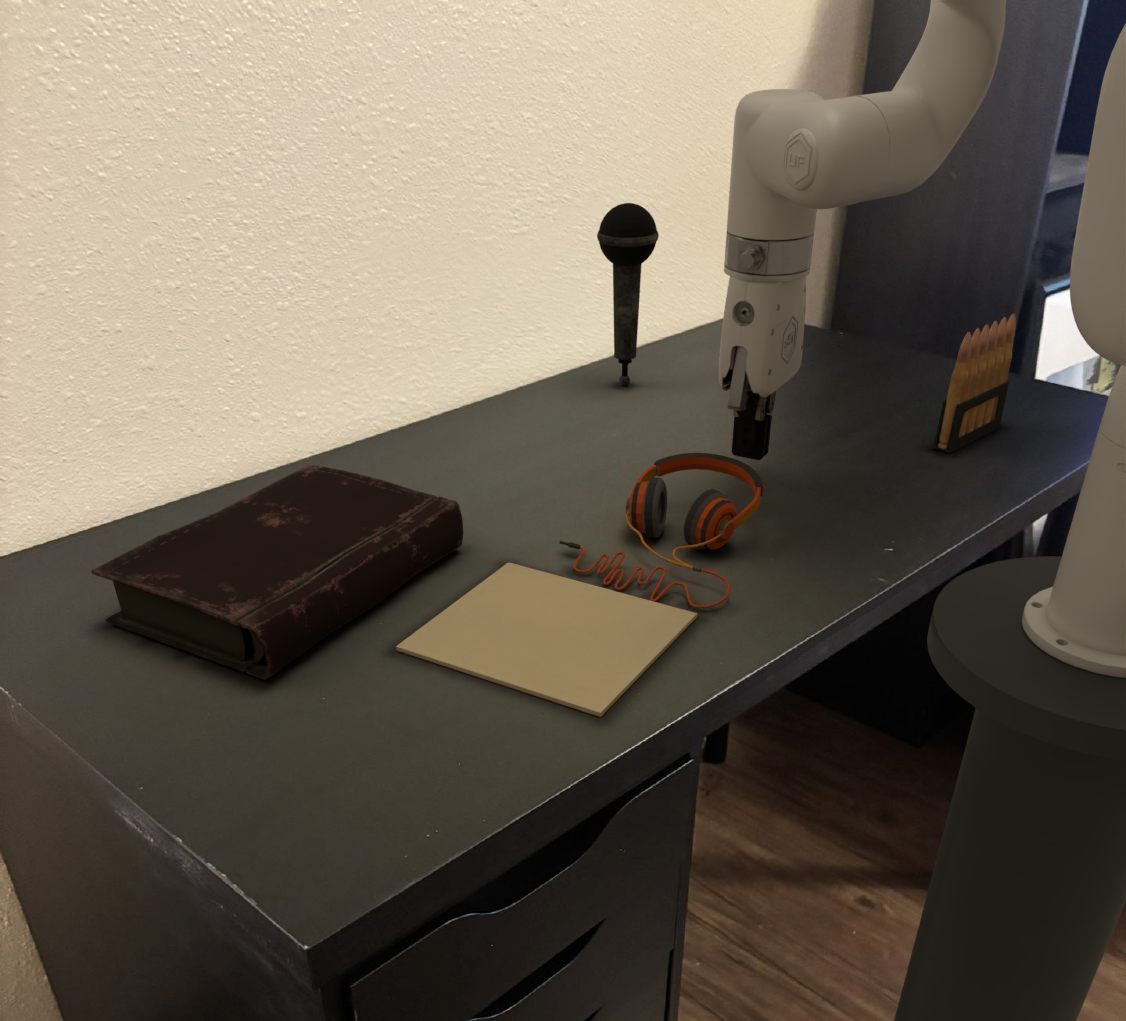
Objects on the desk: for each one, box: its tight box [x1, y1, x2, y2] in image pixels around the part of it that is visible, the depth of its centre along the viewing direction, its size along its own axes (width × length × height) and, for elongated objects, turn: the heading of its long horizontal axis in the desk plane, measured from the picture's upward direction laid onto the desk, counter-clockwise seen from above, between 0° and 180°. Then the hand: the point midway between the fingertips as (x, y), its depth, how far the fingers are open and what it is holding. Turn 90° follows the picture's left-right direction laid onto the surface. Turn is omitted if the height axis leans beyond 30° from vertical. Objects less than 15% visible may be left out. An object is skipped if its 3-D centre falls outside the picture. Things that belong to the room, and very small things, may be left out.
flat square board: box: [395, 562, 698, 718], centre depth 87 cm, size 18×16×1 cm
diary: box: [91, 464, 464, 681], centre depth 92 cm, size 19×25×5 cm
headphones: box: [558, 452, 765, 609], centre depth 97 cm, size 17×5×20 cm
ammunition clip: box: [932, 313, 1017, 454], centre depth 115 cm, size 11×2×12 cm, turn 134°
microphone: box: [596, 202, 659, 387], centre depth 127 cm, size 7×7×20 cm
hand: (749, 454), depth 108 cm, fingers closed
